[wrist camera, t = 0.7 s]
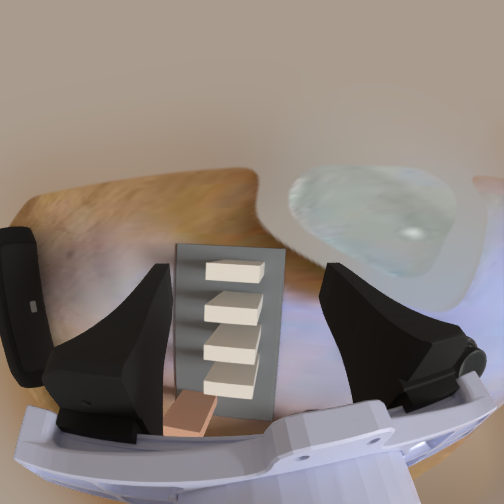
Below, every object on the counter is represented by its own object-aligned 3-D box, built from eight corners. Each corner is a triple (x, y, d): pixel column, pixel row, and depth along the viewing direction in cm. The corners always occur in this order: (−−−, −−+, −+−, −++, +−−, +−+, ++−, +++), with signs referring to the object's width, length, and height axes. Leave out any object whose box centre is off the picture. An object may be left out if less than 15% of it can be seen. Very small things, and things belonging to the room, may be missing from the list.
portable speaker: (73, 372, 40) (37, 393, 30) (39, 369, 41) (5, 385, 31) (46, 227, 40) (4, 223, 30) (15, 238, 41) (-23, 236, 31)
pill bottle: (409, 343, 35) (446, 371, 24) (438, 314, 35) (482, 332, 24) (426, 370, 35) (463, 400, 24) (454, 342, 35) (495, 364, 24)
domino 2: (264, 274, 37) (259, 283, 27) (224, 272, 37) (205, 279, 27) (264, 261, 37) (259, 265, 27) (225, 259, 37) (206, 262, 27)
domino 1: (217, 403, 37) (200, 442, 27) (183, 398, 38) (159, 434, 28) (217, 394, 37) (199, 432, 27) (183, 389, 38) (158, 424, 28)
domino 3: (262, 305, 37) (256, 325, 27) (223, 303, 37) (204, 321, 27) (262, 293, 37) (257, 309, 27) (223, 290, 37) (204, 304, 27)
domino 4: (260, 335, 37) (254, 364, 27) (222, 332, 37) (203, 359, 27) (261, 324, 37) (255, 349, 27) (222, 321, 37) (203, 344, 27)
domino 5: (258, 364, 37) (252, 399, 27) (221, 360, 37) (203, 393, 27) (259, 353, 37) (253, 386, 27) (221, 349, 37) (203, 380, 27)
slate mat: (272, 419, 37) (272, 420, 37) (178, 408, 38) (177, 409, 38) (285, 249, 37) (285, 249, 36) (178, 243, 38) (177, 243, 38)
